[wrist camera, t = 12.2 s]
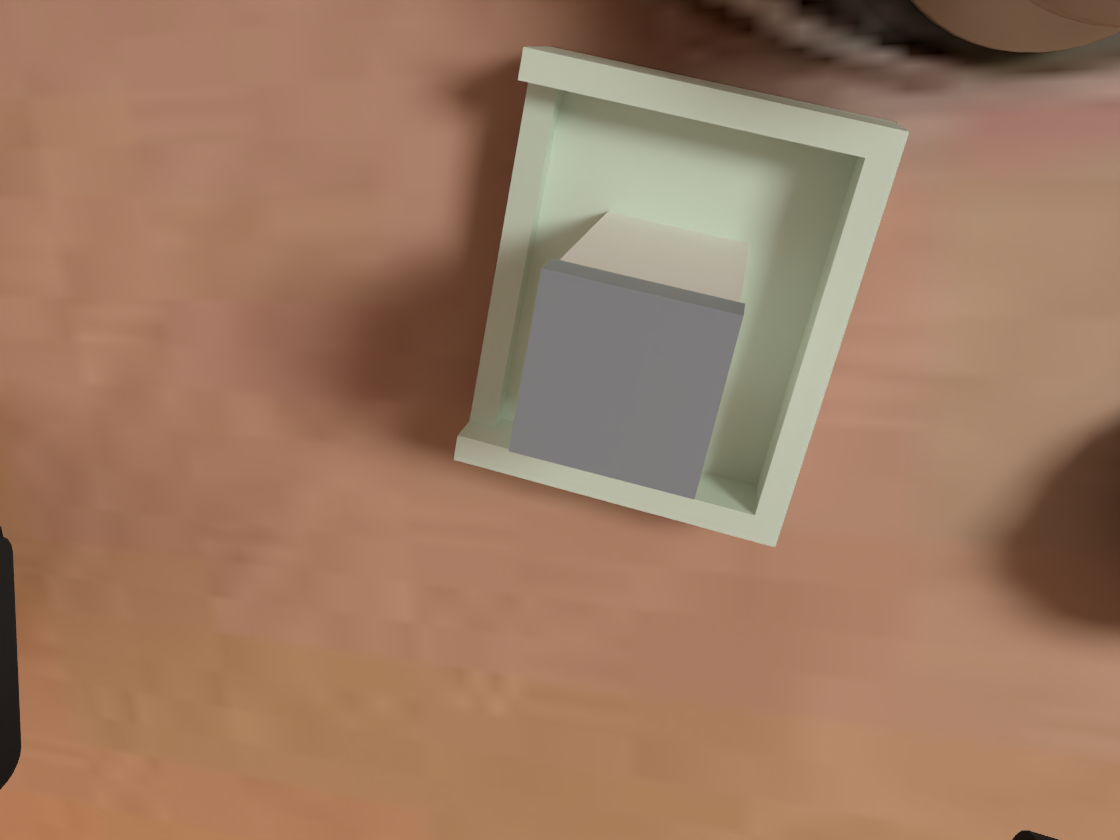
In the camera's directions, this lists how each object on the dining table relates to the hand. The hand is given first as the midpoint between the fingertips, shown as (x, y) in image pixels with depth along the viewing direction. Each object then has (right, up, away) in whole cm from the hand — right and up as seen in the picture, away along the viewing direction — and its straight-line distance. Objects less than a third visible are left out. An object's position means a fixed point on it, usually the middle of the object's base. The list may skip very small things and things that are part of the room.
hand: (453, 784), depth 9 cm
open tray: (+4, +7, +20) cm, 22 cm away
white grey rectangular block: (+4, +7, +19) cm, 21 cm away
